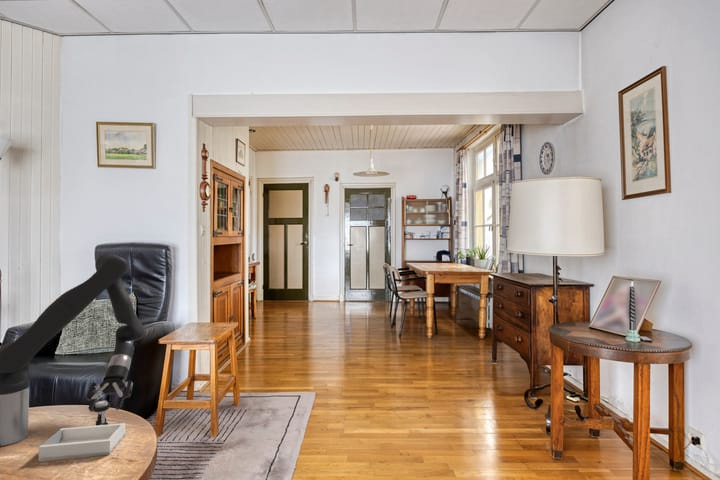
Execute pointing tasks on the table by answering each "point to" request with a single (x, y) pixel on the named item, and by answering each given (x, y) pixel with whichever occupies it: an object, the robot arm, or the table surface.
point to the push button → (101, 412)
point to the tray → (82, 442)
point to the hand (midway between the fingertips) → (104, 409)
